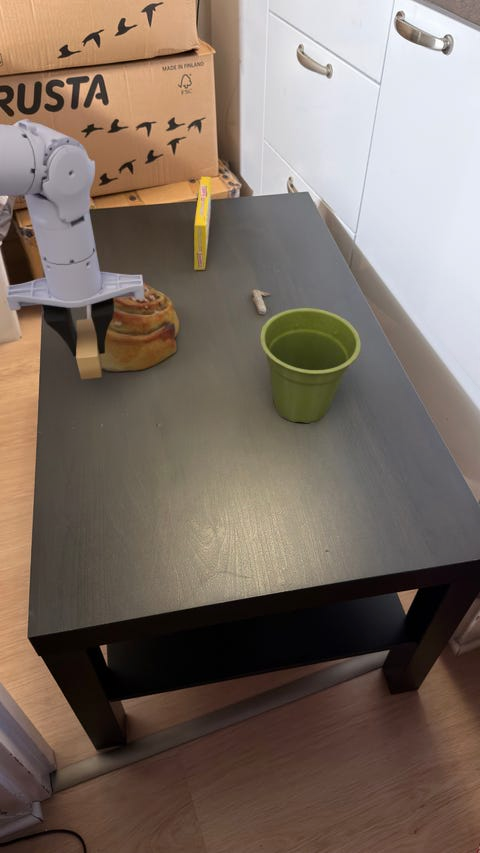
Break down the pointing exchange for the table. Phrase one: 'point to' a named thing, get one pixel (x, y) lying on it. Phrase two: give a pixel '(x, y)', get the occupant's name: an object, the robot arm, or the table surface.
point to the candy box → (202, 223)
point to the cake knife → (87, 348)
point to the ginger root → (259, 301)
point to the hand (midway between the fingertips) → (89, 349)
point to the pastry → (140, 332)
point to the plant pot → (307, 360)
